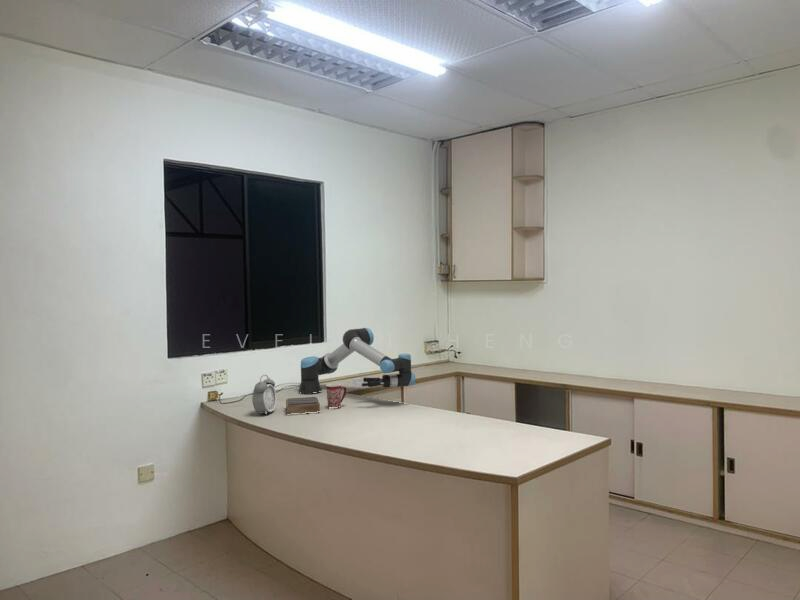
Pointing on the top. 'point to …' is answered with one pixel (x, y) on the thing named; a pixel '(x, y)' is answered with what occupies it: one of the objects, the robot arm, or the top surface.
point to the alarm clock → (264, 396)
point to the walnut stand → (302, 405)
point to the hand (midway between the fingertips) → (354, 383)
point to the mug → (335, 395)
